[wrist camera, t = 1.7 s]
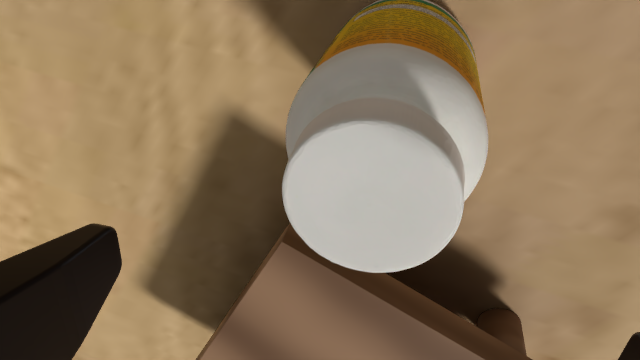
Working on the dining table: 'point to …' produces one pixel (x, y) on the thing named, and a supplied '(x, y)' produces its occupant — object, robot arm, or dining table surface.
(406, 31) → the supplement bottle
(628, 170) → the dining table surface
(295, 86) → the dining table surface
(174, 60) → the dining table surface
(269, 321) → the walnut stool
